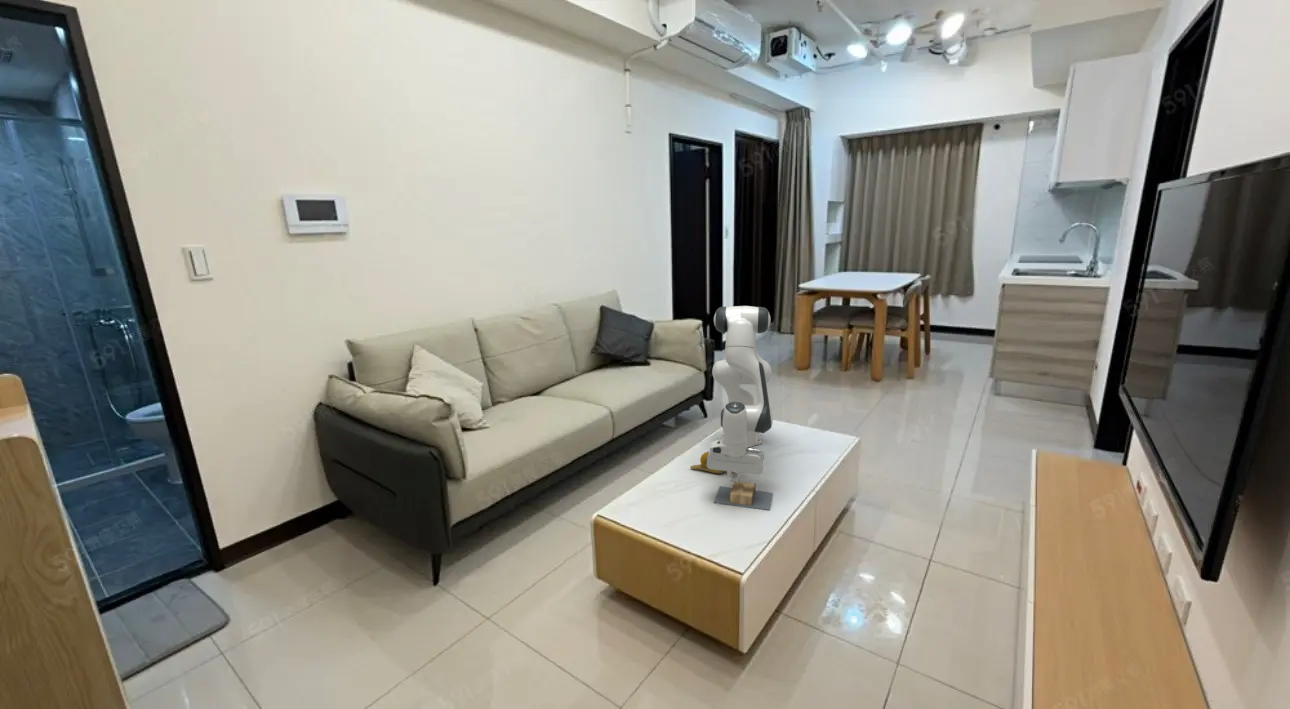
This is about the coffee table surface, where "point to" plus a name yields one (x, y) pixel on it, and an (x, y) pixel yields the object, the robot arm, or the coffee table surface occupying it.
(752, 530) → the coffee table surface
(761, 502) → the mat
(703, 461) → the toy
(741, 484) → the slab
